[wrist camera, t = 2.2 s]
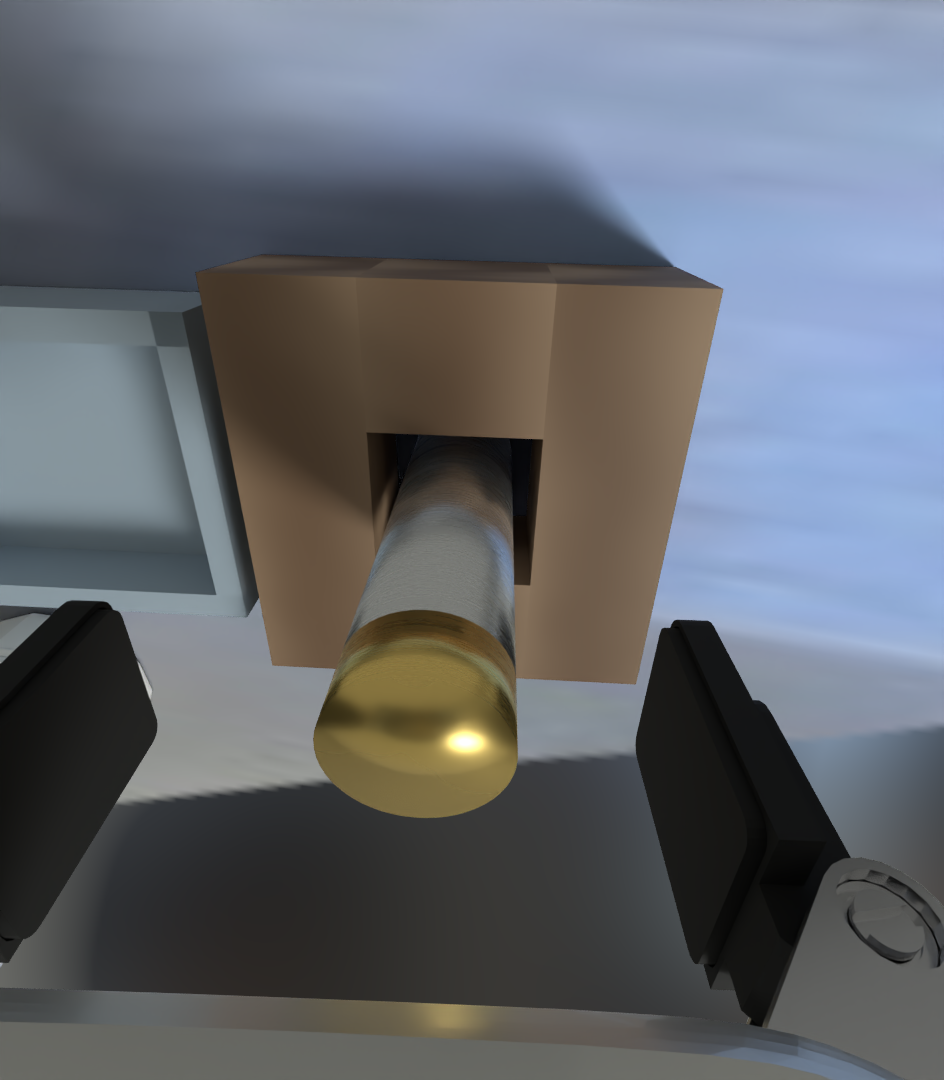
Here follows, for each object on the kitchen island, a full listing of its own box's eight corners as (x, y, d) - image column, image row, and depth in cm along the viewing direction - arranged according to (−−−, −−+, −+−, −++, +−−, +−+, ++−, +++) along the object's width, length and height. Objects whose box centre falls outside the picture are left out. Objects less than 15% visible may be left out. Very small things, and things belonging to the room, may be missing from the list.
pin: (514, 409, 18) (524, 684, 8) (508, 498, 19) (511, 823, 9) (414, 405, 18) (301, 672, 8) (416, 494, 19) (324, 811, 10)
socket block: (675, 267, 16) (723, 288, 12) (615, 604, 21) (635, 684, 18) (262, 254, 16) (195, 272, 13) (309, 589, 22) (272, 665, 18)
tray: (232, 293, 17) (181, 312, 14) (278, 565, 21) (246, 617, 19) (-150, 280, 17) (-270, 297, 14) (-23, 550, 21) (-96, 600, 19)
